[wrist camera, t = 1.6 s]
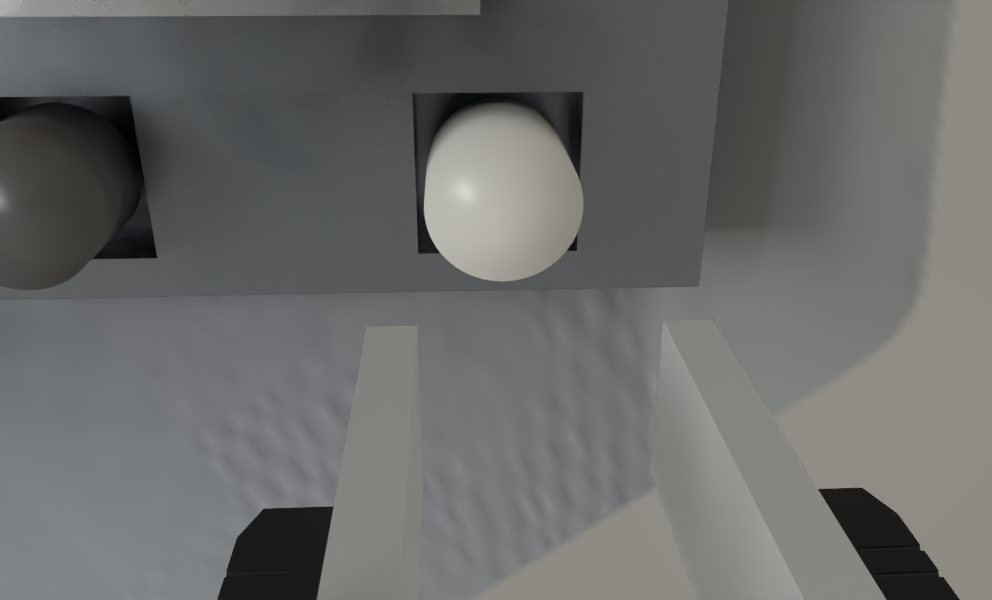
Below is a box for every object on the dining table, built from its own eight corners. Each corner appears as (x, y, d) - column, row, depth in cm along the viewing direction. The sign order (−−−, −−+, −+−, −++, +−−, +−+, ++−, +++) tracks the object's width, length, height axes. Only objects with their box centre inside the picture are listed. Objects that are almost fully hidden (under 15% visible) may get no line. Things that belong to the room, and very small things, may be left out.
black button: (10, 242, 26) (-51, 291, 22) (-23, 103, 24) (-95, 136, 21) (152, 239, 26) (111, 288, 23) (128, 101, 24) (81, 133, 21)
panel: (-52, 245, 30) (-149, 314, 25) (-186, -247, 24) (-348, -282, 19) (665, 233, 31) (705, 297, 26) (705, -239, 25) (768, -270, 20)
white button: (428, 235, 26) (426, 282, 23) (424, 98, 25) (421, 129, 21) (564, 232, 26) (579, 279, 23) (568, 97, 25) (586, 127, 22)
